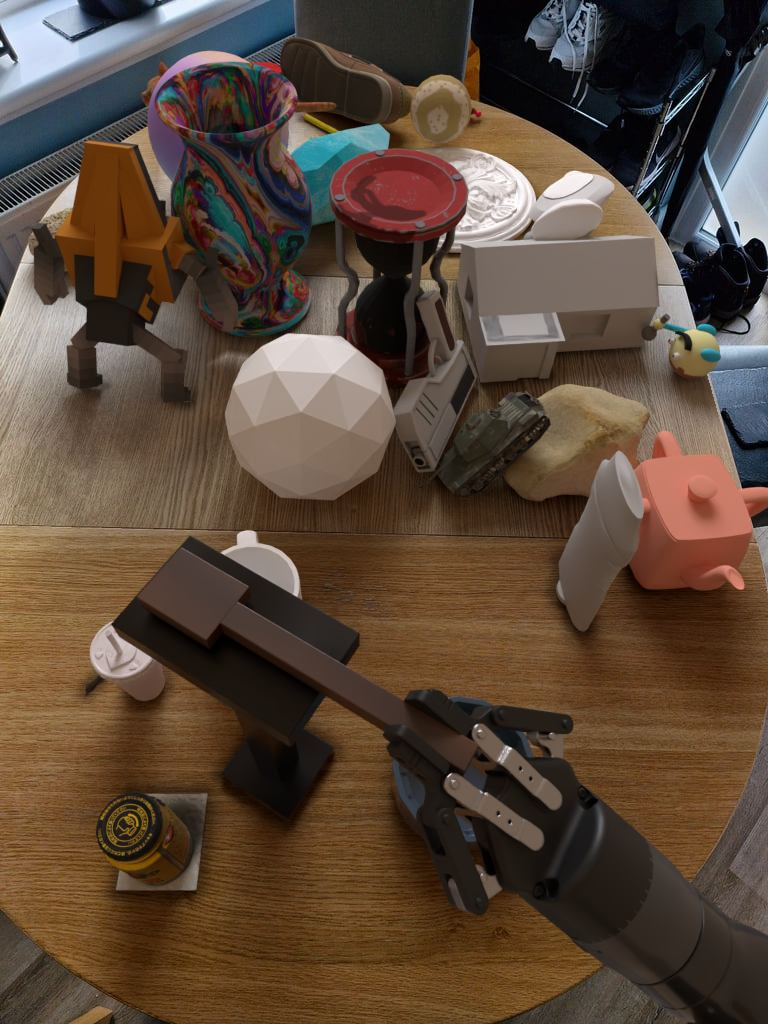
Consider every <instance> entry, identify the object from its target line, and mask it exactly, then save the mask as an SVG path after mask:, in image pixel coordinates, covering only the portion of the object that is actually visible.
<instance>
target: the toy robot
mask: <svg viewBox="0 0 768 1024" xmlns="http://www.w3.org/2000/svg"><path fill="white" fill-rule="evenodd" d="M83 147H84V148H83V152H82V157H81V163H80V168H79V174H78V179H77V184H76V188H75V189H76V190H75V194H74V199H73V205H72V207H73V209H72V211H71V212H70V214H69V215H68V216H67V218H66V219H65V221H64V222H63V224H62V225H61V227H60V228H59V229H58V231H57V232H55V233H56V234H55V238H53V237H52V235H51V233H50V231H49V229H48V227H47V225H46V223H39V222H37V223H35V224H34V225H33V226H32V227H31V228H30V230H31V232H32V231H33V233H34V235H35V237H36V239H37V241H38V243H39V244H38V245H37V246H36V247H35V248H34V256H33V288H34V291H35V292H36V294H37V295H38V297H39V298H40V300H41V302H42V304H43V305H44V306H53V305H54V304H55V303H56V302H57V301H58V299H65V298H66V297H67V296H68V295H69V294H70V292H69V288H68V285H67V282H66V279H65V271H64V267H65V265H66V268H67V270H68V272H67V273H68V275H69V278H70V281H71V284H72V286H73V289H74V290H75V291H74V293H75V296H74V297H75V298H74V299H75V302H77V304H80V305H81V306H82V307H84V308H85V309H86V315H85V316H86V317H85V318H86V320H85V322H84V324H83V325H81V327H80V328H79V329H78V330H77V332H75V334H74V335H73V336H72V337H71V338H70V342H71V344H68V345H66V362H67V372H66V380H67V381H66V383H68V386H71V387H73V388H76V389H78V390H86V389H87V390H88V389H92V388H98V387H100V386H101V385H104V375H103V374H102V373H98V359H97V357H98V355H97V347H96V346H97V345H98V344H99V343H103V344H109V345H115V346H123V347H133V346H138V347H140V348H141V349H143V350H144V351H146V353H149V355H150V354H151V356H153V357H154V358H156V359H158V360H159V361H160V398H161V401H162V403H169V404H170V403H178V404H179V403H181V404H182V403H189V402H192V391H191V390H190V388H189V386H187V385H185V371H187V365H188V358H189V350H188V349H183V348H177V347H175V348H174V347H173V346H171V345H170V344H169V343H167V342H165V341H164V340H163V339H161V338H160V337H158V336H157V335H156V334H154V333H152V332H151V331H150V330H148V328H146V324H149V325H151V326H153V325H154V323H155V321H156V319H157V316H158V314H159V311H160V309H161V307H162V304H163V303H165V304H166V303H167V304H174V305H175V304H176V302H177V300H178V299H179V296H180V294H181V292H182V290H183V288H184V286H185V284H186V282H187V279H188V278H189V277H191V279H192V280H193V282H194V283H195V285H196V287H197V289H198V292H199V293H201V294H202V296H203V298H204V300H205V302H206V304H207V305H208V307H209V309H210V311H211V313H212V314H213V316H214V318H215V320H216V321H224V323H223V329H222V331H221V332H223V331H226V332H230V333H232V332H233V328H234V327H236V326H237V322H238V304H237V302H236V300H235V298H234V296H233V294H232V292H231V290H230V288H229V286H228V284H227V283H226V281H225V279H224V277H223V275H222V273H221V271H220V269H219V267H218V265H217V262H218V251H219V249H218V248H213V247H209V246H208V247H207V251H206V259H205V262H203V261H202V260H200V259H199V258H198V257H196V256H195V255H194V254H195V252H196V251H197V250H196V249H194V248H193V247H191V246H190V245H189V244H187V243H186V242H185V240H184V235H183V230H182V225H181V220H180V217H173V216H171V215H167V214H166V211H167V200H165V199H160V198H159V196H158V194H157V191H156V189H155V186H154V184H153V181H152V178H151V175H150V173H149V171H148V168H147V166H146V163H145V160H144V157H143V156H142V155H143V154H142V153H141V150H140V146H139V144H137V143H129V142H123V141H115V140H107V139H100V138H93V139H90V140H86V141H84V142H83ZM226 332H225V333H226Z"/></svg>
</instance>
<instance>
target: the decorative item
mask: <svg viewBox="0 0 768 1024" xmlns="http://www.w3.org/2000/svg"><path fill="white" fill-rule="evenodd" d="M72 209H73V206H69V207H67V208H65V209H63V210H60V211H58V212H54V213H52V214H50V215H48V216H45V217H43V218H42V219H41V220H39V222H38V223H46V225H47V227H48V229H49V231H50V233H51V235H52V237H53V238H55V234H56V233H55V232H57V231H58V229H59V228H60V227H61V225H62V224H63V222H64V221H65V219H66V218H67V216H68V215H69V214H70V212H71V211H72ZM38 244H39V243H38V241H37V239H36V237H35V235H34V233H33V231H32V230H31V233H30V235H29V237H28V242H27V245H28V246H27V247H28V250H29V253H30V254H31V256H33V257H34V248H35V247H36V246H37V245H38ZM64 272H67V273H68V270H67V268H66V265H65V267H64Z"/></svg>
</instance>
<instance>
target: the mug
mask: <svg viewBox="0 0 768 1024" xmlns="http://www.w3.org/2000/svg"><path fill="white" fill-rule="evenodd" d="M220 553H222V554H224V555H225V556H227V557H229V558H231V559H232V560H234V561H236V562H238V563H239V564H241V565H243V566H244V567H246V568H248V569H250V570H251V571H253V572H255V573H257V574H258V575H260V576H262V577H264V578H265V579H267V580H269V581H270V582H272V583H274V584H276V585H277V586H279V587H281V588H283V589H284V590H286V591H288V592H290V593H291V594H293V595H295V596H296V597H298V598H300V599H302V600H303V597H302V589H301V582H300V576H299V572H298V569H297V567H296V566H295V564H294V562H293V560H292V559H291V558H290V557H289V556H287V554H285V552H283V550H280V549H278V548H276V547H274V546H272V545H269V544H264V543H260V542H259V537H258V533H257V532H256V531H254V530H249V529H248V530H247V529H246V530H243V531H240V532H239V533H237V535H236V545H233V546H230V547H229V548H226V549H225V550H222V551H221V552H220Z"/></svg>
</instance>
